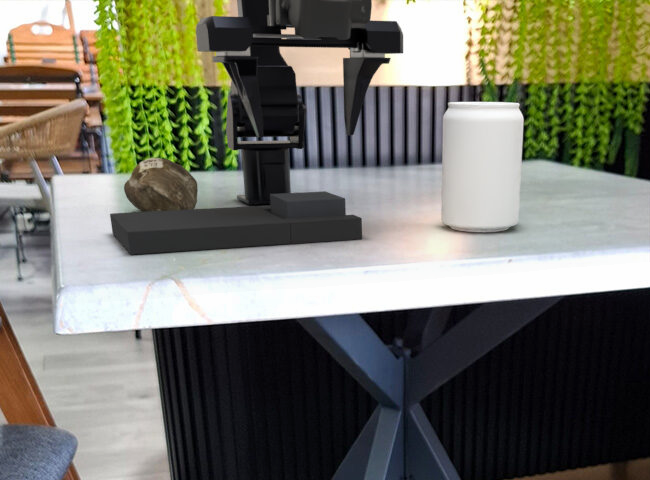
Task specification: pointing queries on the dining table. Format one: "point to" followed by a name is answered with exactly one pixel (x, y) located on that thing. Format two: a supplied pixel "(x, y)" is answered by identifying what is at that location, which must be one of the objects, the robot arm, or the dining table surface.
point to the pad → (307, 204)
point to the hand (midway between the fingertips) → (306, 136)
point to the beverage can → (481, 165)
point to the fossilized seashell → (161, 186)
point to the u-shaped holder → (225, 229)
